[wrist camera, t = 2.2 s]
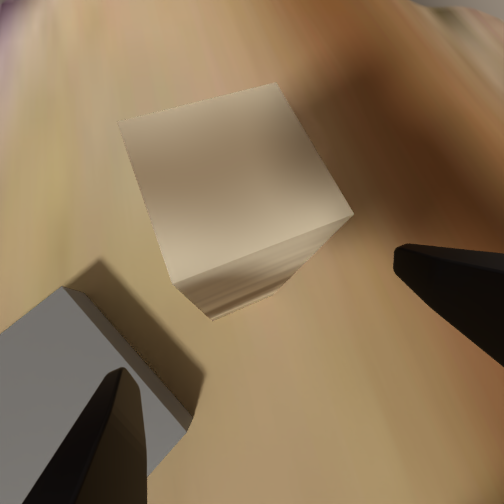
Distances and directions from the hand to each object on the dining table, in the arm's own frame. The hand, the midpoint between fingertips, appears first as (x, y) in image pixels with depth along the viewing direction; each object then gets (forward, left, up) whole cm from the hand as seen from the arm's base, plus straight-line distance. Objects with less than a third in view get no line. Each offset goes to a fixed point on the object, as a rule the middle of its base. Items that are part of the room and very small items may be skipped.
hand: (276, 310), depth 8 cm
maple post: (+3, -2, -11) cm, 11 cm away
